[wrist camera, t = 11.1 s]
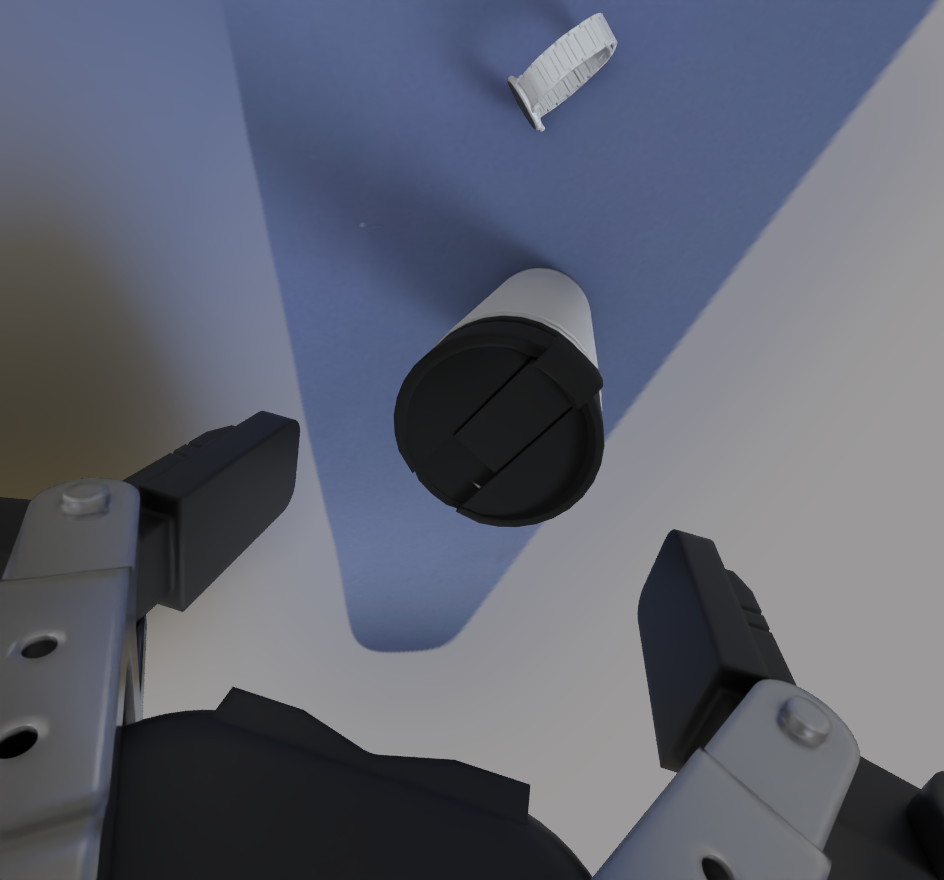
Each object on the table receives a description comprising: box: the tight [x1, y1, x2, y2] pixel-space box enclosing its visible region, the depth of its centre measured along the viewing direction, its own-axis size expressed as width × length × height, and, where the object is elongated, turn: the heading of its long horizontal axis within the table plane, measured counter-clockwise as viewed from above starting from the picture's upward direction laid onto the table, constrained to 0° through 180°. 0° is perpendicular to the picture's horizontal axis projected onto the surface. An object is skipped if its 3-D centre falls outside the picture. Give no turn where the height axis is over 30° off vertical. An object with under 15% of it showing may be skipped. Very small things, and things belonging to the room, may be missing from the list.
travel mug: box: [394, 267, 604, 527], centre depth 24 cm, size 6×7×20 cm
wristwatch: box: [508, 13, 617, 132], centre depth 26 cm, size 3×5×5 cm, turn 126°
